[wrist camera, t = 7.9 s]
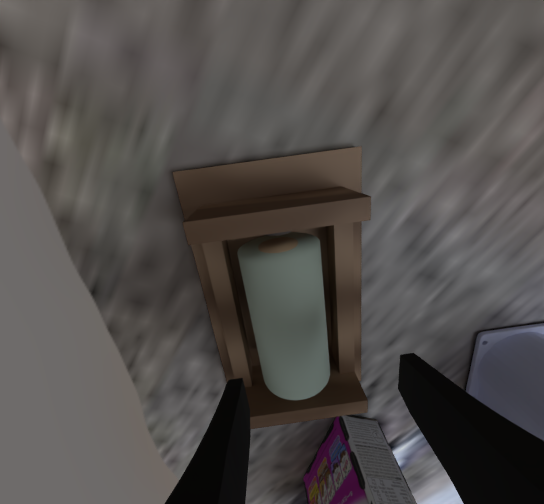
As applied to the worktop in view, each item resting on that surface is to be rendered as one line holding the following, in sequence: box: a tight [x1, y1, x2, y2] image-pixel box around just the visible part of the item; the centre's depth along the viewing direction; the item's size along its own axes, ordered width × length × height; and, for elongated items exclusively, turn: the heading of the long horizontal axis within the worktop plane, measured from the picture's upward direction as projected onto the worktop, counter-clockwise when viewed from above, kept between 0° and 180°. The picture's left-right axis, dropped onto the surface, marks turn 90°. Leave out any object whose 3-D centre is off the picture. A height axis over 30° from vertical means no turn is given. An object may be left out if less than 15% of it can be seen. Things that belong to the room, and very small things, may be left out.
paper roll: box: [237, 232, 330, 400], centre depth 17 cm, size 10×5×5 cm, turn 8°
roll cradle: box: [172, 146, 371, 429], centre depth 18 cm, size 20×12×6 cm, turn 7°
